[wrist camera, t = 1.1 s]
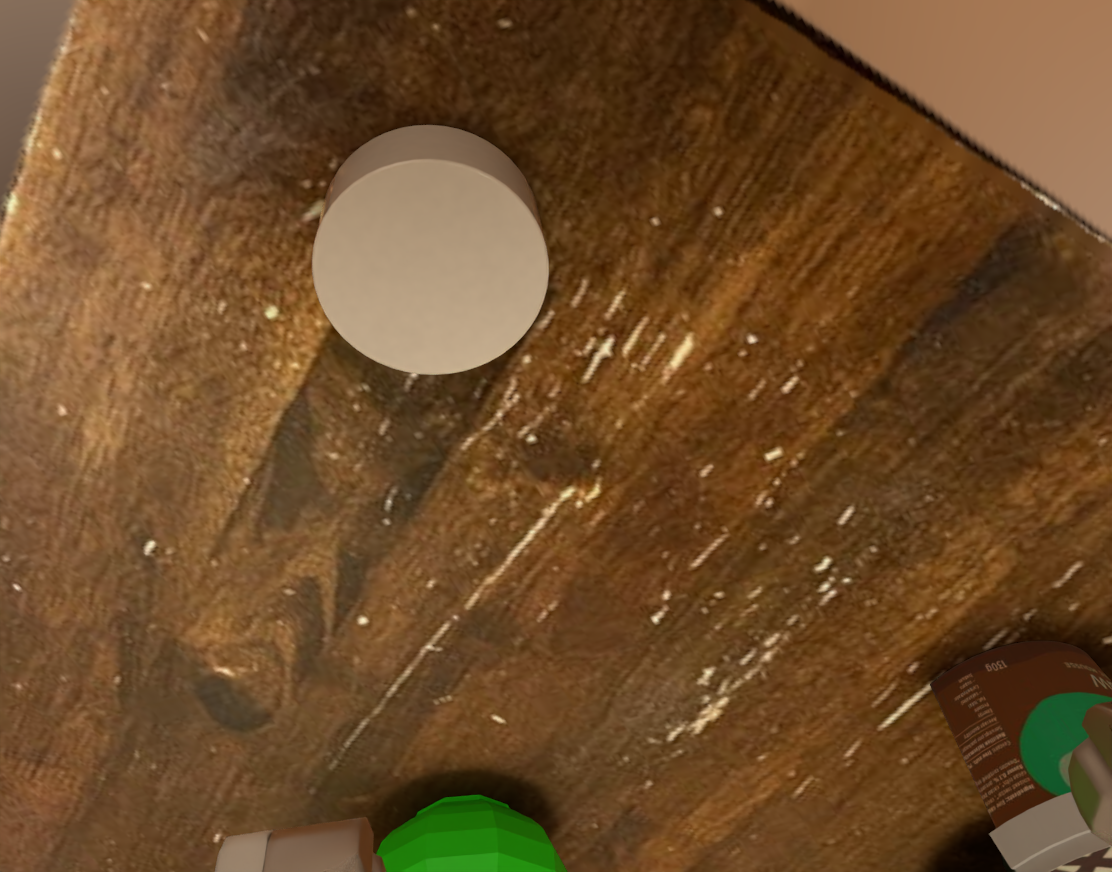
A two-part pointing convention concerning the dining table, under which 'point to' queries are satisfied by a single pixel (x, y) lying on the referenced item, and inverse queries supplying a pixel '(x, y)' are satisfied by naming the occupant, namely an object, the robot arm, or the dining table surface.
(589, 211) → the dining table surface
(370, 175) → the beige hockey puck
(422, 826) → the plastic bottle
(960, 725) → the food container
